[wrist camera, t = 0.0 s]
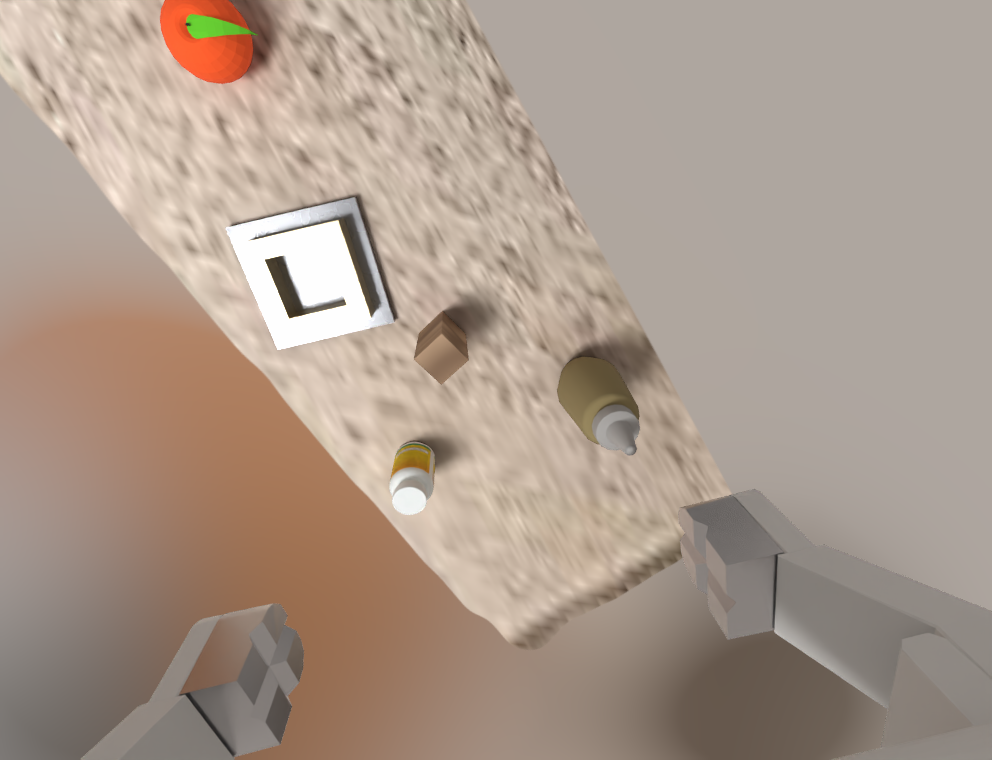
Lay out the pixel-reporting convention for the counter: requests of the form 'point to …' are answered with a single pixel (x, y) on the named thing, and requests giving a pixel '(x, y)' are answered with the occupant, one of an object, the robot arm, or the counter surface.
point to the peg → (441, 348)
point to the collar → (313, 272)
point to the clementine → (207, 38)
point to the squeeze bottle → (600, 403)
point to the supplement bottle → (412, 477)
